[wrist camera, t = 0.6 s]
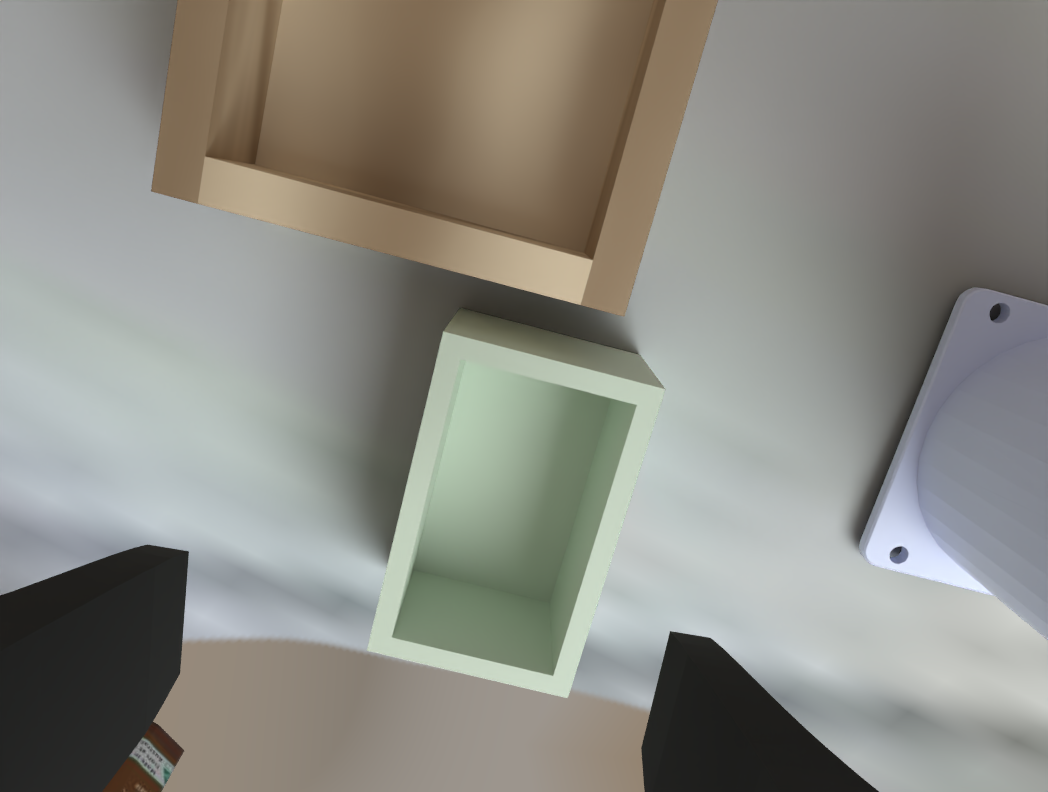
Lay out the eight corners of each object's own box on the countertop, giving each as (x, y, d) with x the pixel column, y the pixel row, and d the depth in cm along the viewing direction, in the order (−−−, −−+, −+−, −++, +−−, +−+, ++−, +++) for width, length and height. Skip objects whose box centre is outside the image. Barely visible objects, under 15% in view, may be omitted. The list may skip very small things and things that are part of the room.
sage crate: (639, 355, 20) (665, 389, 17) (561, 613, 22) (567, 698, 18) (460, 307, 20) (443, 331, 16) (395, 572, 22) (366, 650, 18)
